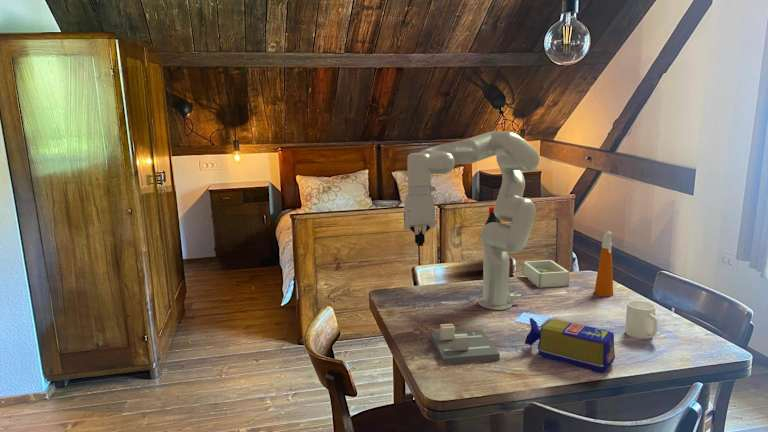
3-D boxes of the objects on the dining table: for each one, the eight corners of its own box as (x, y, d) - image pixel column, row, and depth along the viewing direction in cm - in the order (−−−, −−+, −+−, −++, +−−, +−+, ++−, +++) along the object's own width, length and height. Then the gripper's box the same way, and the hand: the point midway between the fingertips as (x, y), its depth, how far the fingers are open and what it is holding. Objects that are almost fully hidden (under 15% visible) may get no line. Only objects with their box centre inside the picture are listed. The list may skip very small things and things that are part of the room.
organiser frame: (550, 272, 239) (550, 259, 238) (568, 285, 222) (569, 271, 221) (522, 274, 238) (522, 261, 237) (538, 287, 220) (539, 273, 219)
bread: (606, 377, 148) (608, 342, 146) (521, 353, 163) (522, 322, 161) (616, 363, 156) (619, 329, 153) (534, 342, 170) (536, 311, 168)
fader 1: (452, 335, 171) (452, 322, 170) (454, 339, 168) (454, 326, 167) (440, 336, 171) (440, 323, 170) (442, 340, 168) (442, 327, 167)
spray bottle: (597, 299, 206) (601, 232, 201) (592, 290, 216) (596, 226, 211) (616, 300, 204) (621, 233, 199) (611, 291, 215) (615, 227, 209)
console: (481, 335, 176) (481, 329, 176) (499, 360, 159) (499, 353, 158) (430, 338, 174) (430, 332, 174) (443, 364, 157) (443, 358, 156)
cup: (641, 328, 179) (644, 299, 177) (667, 343, 167) (669, 312, 165) (619, 330, 177) (621, 301, 175) (643, 346, 166) (646, 315, 164)
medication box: (533, 276, 235) (533, 268, 234) (536, 275, 237) (537, 266, 236) (557, 283, 226) (557, 274, 225) (560, 282, 228) (561, 273, 227)
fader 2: (465, 345, 164) (466, 332, 163) (468, 349, 161) (468, 336, 160) (453, 346, 163) (453, 333, 162) (455, 350, 160) (455, 337, 159)
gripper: (439, 188, 179) (439, 241, 183) (395, 190, 177) (396, 243, 181) (444, 191, 172) (444, 246, 175) (398, 193, 170) (399, 249, 174)
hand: (419, 245), depth 178 cm, fingers closed
